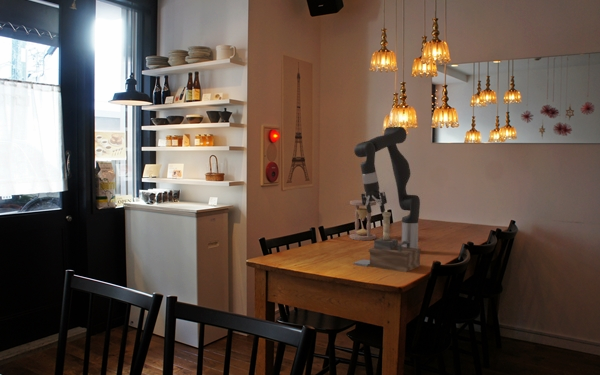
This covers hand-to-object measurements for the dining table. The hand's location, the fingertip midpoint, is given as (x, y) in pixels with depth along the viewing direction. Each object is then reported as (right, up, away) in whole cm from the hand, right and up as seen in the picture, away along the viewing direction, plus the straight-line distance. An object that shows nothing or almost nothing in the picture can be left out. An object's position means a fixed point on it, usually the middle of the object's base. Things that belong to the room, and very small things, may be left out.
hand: (376, 212), depth 264 cm
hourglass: (+3, -21, +83) cm, 86 cm away
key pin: (+5, -18, +1) cm, 19 cm away
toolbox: (+9, -27, -1) cm, 29 cm away
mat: (-5, -27, +4) cm, 28 cm away
